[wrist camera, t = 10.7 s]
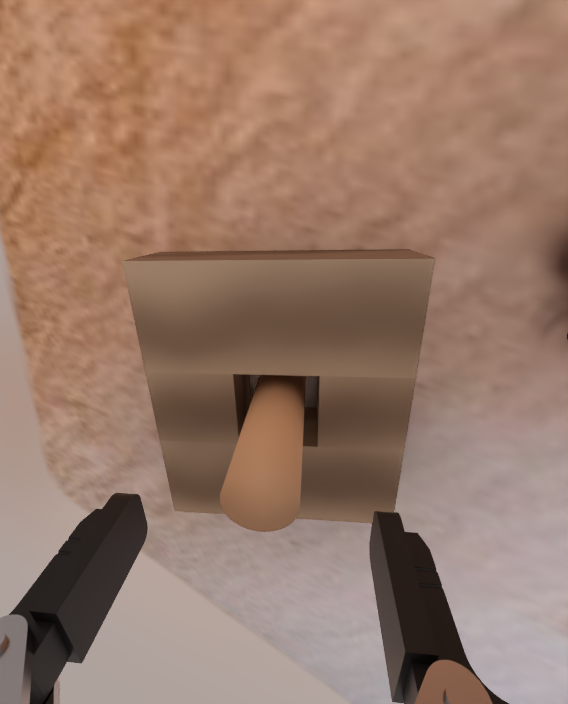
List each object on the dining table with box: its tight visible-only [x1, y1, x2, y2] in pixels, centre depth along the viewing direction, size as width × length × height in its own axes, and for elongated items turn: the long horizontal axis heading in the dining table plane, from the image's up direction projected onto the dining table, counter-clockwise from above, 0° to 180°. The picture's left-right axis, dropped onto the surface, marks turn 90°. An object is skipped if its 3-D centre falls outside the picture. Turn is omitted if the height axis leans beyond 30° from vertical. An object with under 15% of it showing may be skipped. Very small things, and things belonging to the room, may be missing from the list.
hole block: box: [122, 249, 435, 523], centre depth 19 cm, size 16×14×4 cm
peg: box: [220, 375, 306, 532], centre depth 16 cm, size 3×3×10 cm
